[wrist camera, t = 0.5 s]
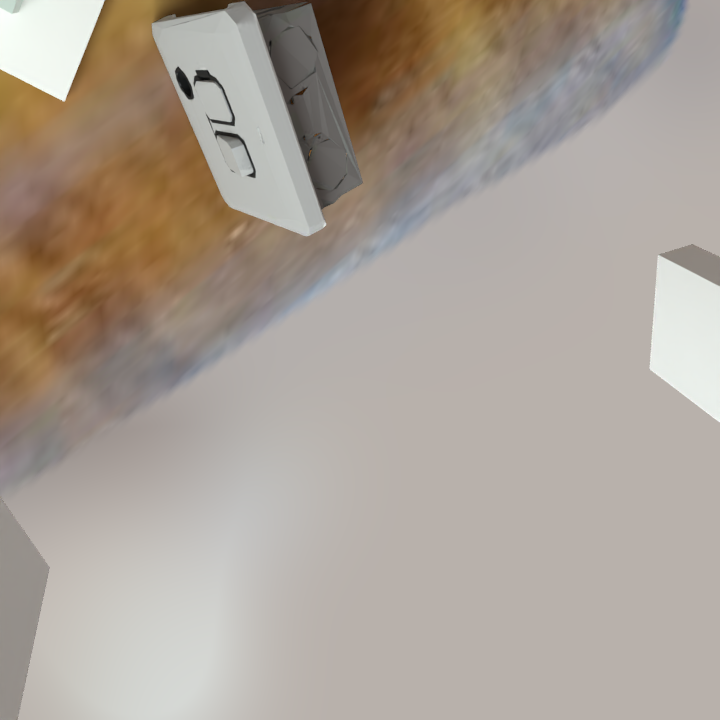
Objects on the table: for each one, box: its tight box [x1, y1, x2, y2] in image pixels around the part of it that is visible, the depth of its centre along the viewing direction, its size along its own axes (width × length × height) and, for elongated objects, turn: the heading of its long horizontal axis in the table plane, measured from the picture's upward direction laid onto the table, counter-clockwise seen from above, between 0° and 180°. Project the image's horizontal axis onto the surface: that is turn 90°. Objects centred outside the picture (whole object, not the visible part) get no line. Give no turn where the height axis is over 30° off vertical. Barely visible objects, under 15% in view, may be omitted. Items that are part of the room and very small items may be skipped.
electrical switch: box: [152, 1, 363, 236], centre depth 29 cm, size 9×5×9 cm, turn 17°
